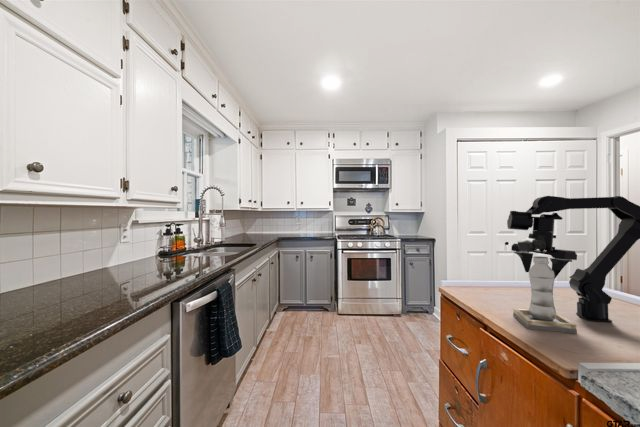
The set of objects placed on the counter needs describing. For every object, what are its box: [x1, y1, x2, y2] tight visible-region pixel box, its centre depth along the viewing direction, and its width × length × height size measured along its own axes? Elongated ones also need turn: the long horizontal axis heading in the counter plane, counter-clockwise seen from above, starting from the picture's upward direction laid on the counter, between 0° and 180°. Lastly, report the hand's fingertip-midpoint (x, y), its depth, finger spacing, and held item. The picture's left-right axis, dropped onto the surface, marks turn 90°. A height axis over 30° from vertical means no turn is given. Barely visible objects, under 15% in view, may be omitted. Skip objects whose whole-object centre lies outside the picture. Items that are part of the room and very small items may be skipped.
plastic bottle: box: [528, 255, 557, 321], centre depth 86 cm, size 6×7×20 cm
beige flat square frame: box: [512, 308, 578, 334], centre depth 85 cm, size 12×12×2 cm
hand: (539, 275), depth 95 cm, fingers open, 9 cm apart
